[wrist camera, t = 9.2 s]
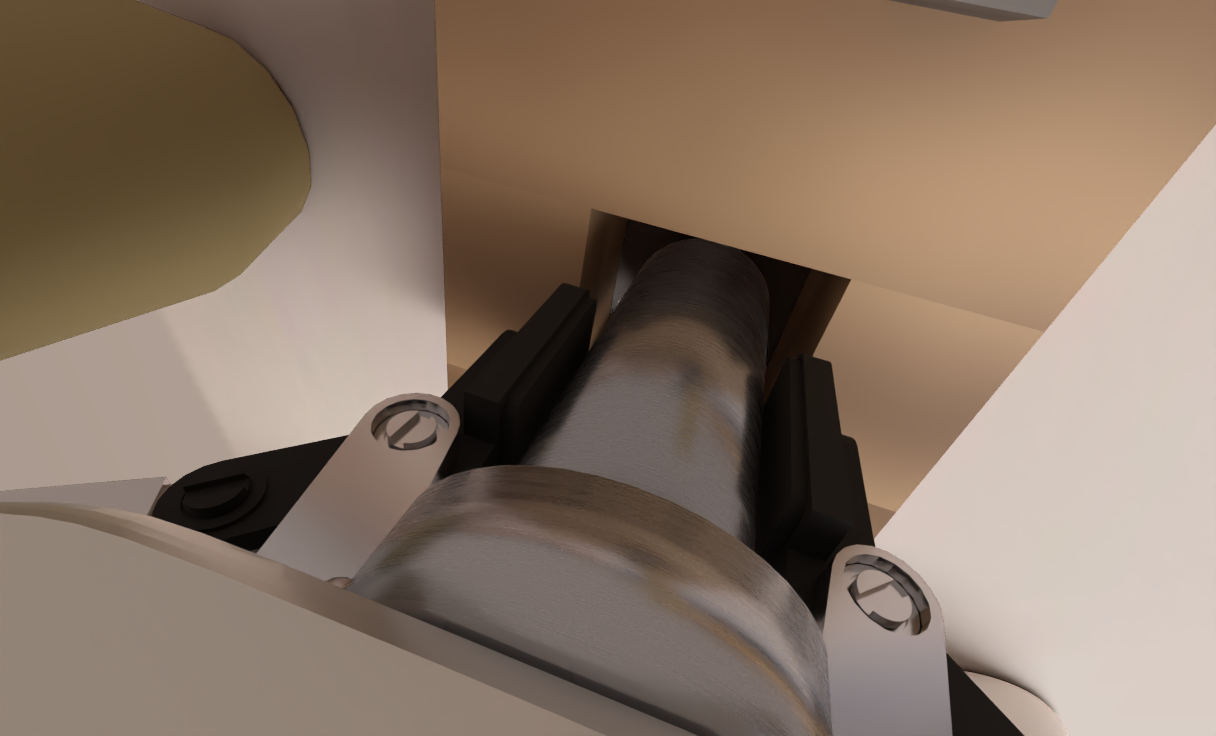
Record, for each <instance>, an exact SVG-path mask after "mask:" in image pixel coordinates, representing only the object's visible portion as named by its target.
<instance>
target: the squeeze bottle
mask: <svg viewBox="0 0 1216 736" xmlns="http://www.w3.org/2000/svg"><path fill="white" fill-rule="evenodd" d="M310 188H311V176H310V161H309V150H308V147H307V145H306V142H305V139H304V137H303V134H302V131H301V128H300V126H299V123H298V120H297V118H296V115H295V112H294V110H293V108H292V107H291V105H290V104H289V102H288V101H287V99H286V98H285V96H284V95H283V93H282V92H281V90H280V89H279V87H278V86H277V84H276V83H275V81H274V80H273V78H272V77H271V75H270V74H269V72H268V71H267V70H266V69H265V68H264V67H263V66H262V65H261V64H259V63H258V62H257V61H256V60H255V59H254V58H253V57H252V56H251V55H250V54H248V53H247V52H246V51H245V50H244V49H243V48H242V47H241V46H240V45H239V44H237V43H236V42H235V41H234V40H233V39H230V38H228V37H226V36H223V35H221V34H219V33H216V32H214V31H212V30H210V29H207V28H205V27H203V26H200V25H198V24H195V23H193V22H190V21H187V20H185V19H182V18H179V17H177V16H174V15H172V14H169V13H166V12H164V11H161V10H159V9H156V8H153V7H151V6H148V5H145V4H143V3H140V2H138V1H135V0H0V360H3V359H7V358H10V357H13V356H16V355H19V354H22V353H25V352H28V351H31V350H34V349H37V348H40V347H44V346H47V345H50V344H53V343H56V342H59V341H62V340H65V339H68V338H71V337H74V336H77V335H80V334H83V333H87V332H90V331H93V330H96V329H99V328H102V327H105V326H108V325H111V324H114V323H117V322H120V321H123V320H127V319H130V318H133V317H136V316H139V315H142V314H145V313H148V312H151V311H154V310H157V309H160V308H163V307H166V306H170V305H173V304H176V303H179V302H182V301H185V300H188V299H191V298H194V297H197V296H200V295H203V294H206V293H210V292H213V291H215V290H217V289H218V288H220V287H221V286H223V285H225V284H226V283H228V282H229V281H231V280H232V279H234V278H236V277H237V276H239V275H240V274H241V273H242V272H243V271H244V270H245V269H246V268H247V267H248V266H249V265H250V264H251V263H252V262H253V261H254V260H255V259H256V258H257V257H258V256H259V255H260V254H261V252H262V251H263V250H264V249H265V248H266V247H267V246H268V245H269V244H270V243H271V242H272V241H273V240H274V239H275V238H276V237H277V236H278V235H279V234H280V233H281V232H282V231H283V230H284V229H285V228H286V227H287V225H288V224H289V223H290V222H291V221H292V220H293V219H294V218H295V217H296V216H297V215H298V214H299V213H300V212H301V211H302V209H303V206H304V204H305V201H306V198H307V196H308V193H309V190H310Z"/></svg>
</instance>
